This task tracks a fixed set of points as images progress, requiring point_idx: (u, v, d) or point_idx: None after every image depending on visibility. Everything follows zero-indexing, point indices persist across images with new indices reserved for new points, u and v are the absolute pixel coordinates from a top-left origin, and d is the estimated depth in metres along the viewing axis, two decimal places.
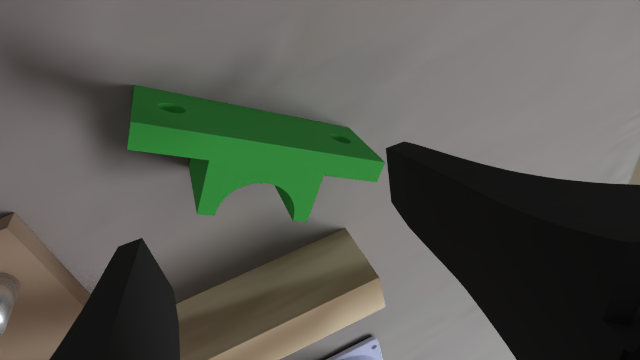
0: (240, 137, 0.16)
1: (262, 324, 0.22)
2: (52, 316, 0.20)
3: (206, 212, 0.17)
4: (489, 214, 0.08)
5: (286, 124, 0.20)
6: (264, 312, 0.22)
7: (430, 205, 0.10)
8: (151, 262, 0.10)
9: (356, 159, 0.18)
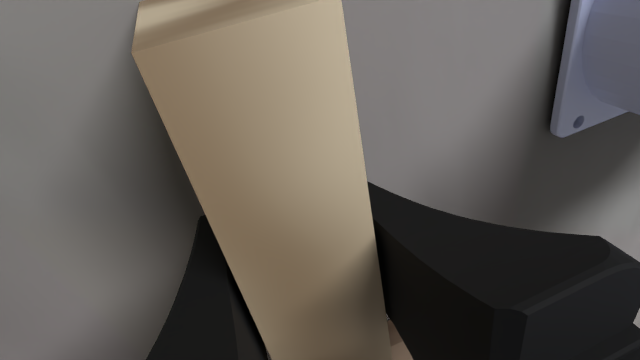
0: None
1: None
2: None
3: None
4: (396, 254, 0.08)
5: None
6: None
7: None
8: None
9: None
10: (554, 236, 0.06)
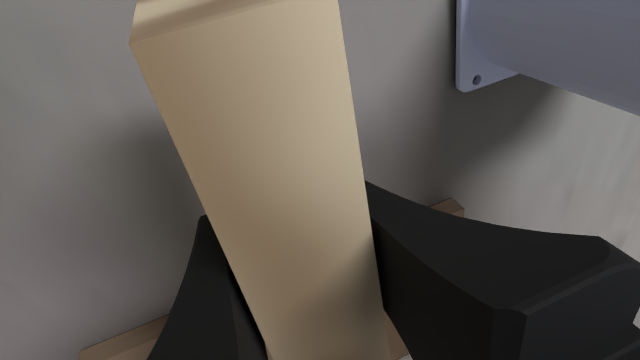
0: None
1: None
2: None
3: None
4: (396, 254, 0.08)
5: None
6: None
7: None
8: None
9: None
10: (553, 236, 0.06)
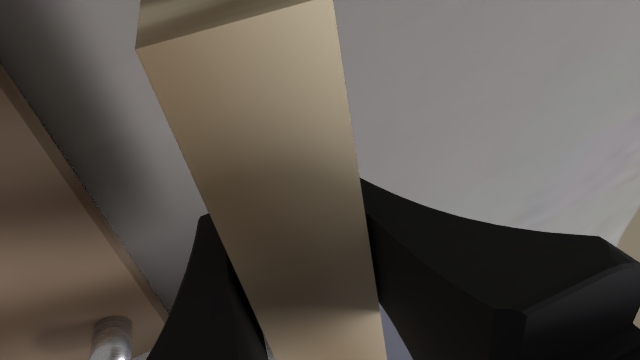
0: None
1: None
2: None
3: None
4: (396, 254, 0.08)
5: None
6: None
7: None
8: None
9: None
10: (554, 236, 0.06)
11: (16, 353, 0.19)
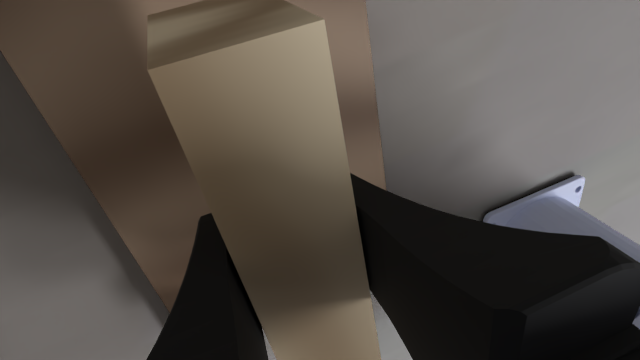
0: None
1: None
2: None
3: None
4: (396, 254, 0.08)
5: None
6: None
7: None
8: None
9: None
10: (554, 236, 0.06)
11: None
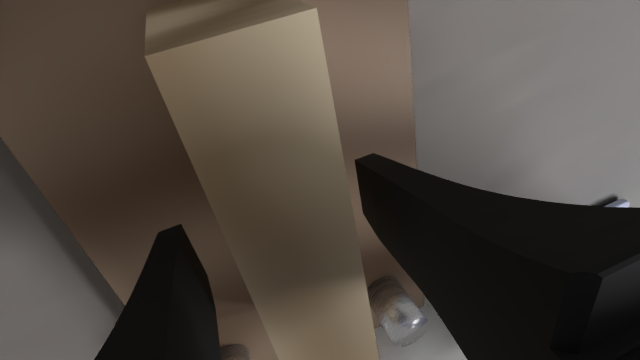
0: None
1: None
2: None
3: None
4: (446, 232, 0.08)
5: None
6: None
7: (395, 219, 0.10)
8: (190, 247, 0.10)
9: None
10: (611, 210, 0.06)
11: None
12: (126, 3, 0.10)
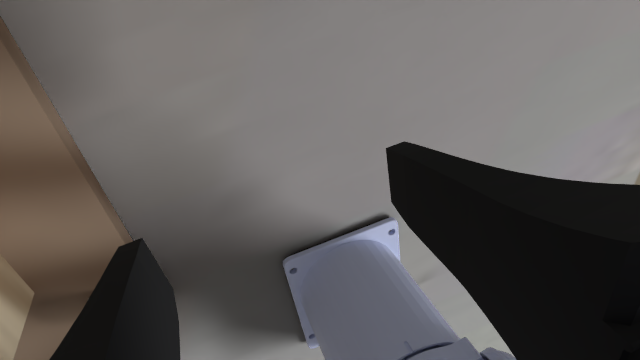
0: None
1: None
2: None
3: None
4: (489, 214, 0.08)
5: None
6: None
7: (430, 205, 0.10)
8: (151, 262, 0.10)
9: None
10: None
11: None
12: None
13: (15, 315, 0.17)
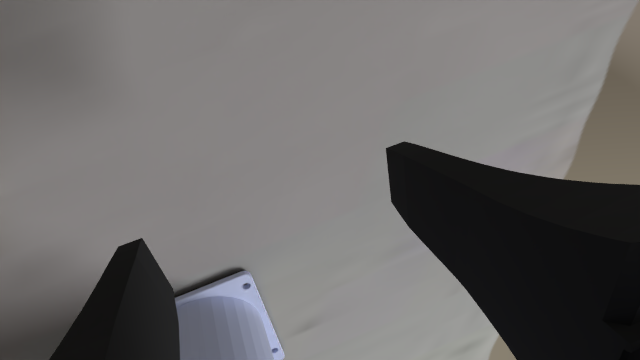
0: None
1: None
2: None
3: None
4: (489, 214, 0.08)
5: None
6: None
7: (430, 205, 0.10)
8: (151, 262, 0.10)
9: None
10: None
11: None
12: None
13: None
